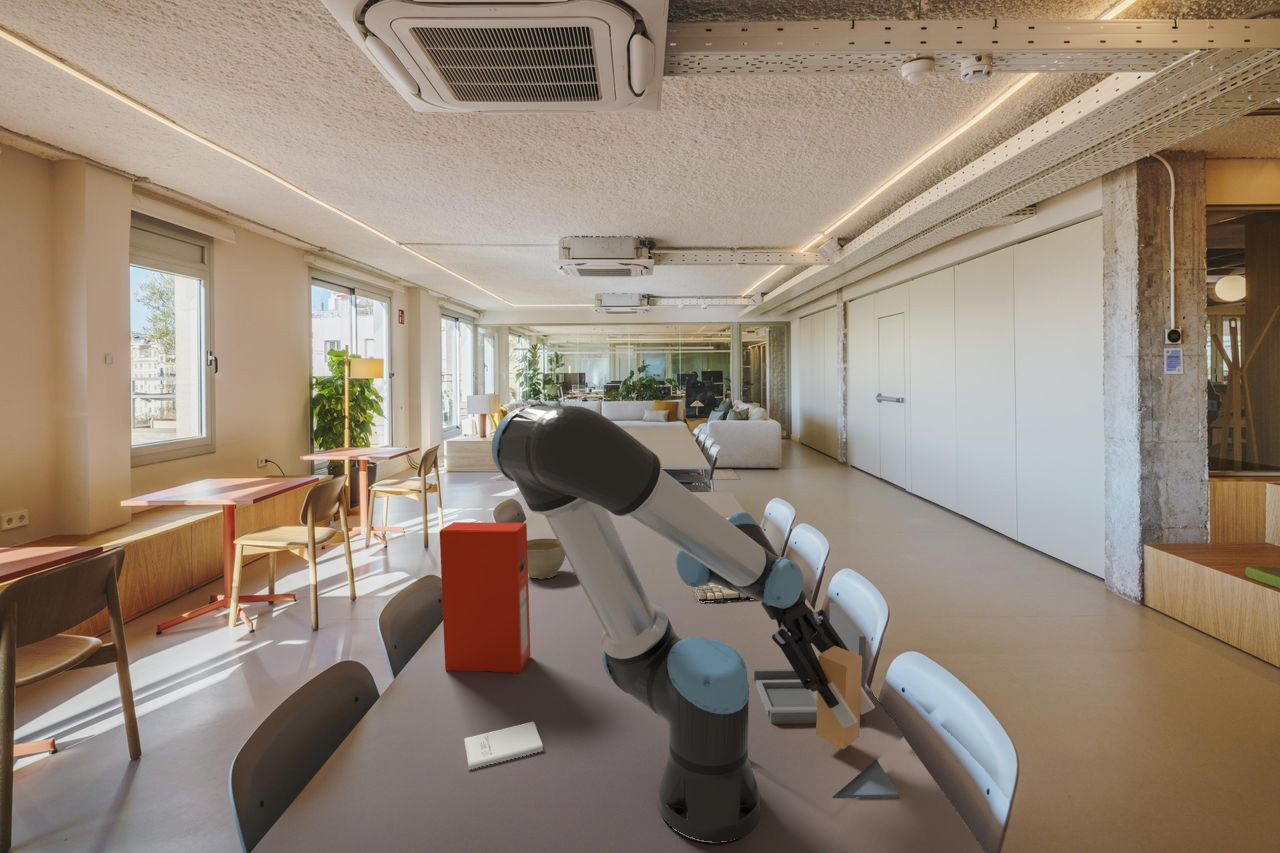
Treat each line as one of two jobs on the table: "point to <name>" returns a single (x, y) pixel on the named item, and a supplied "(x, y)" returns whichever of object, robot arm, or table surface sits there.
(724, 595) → the mechanical keyboard
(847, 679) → the module
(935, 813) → the table surface
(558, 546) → the planter bowl
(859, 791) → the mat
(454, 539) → the file binder
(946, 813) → the table surface
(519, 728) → the external hard drive
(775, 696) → the case
